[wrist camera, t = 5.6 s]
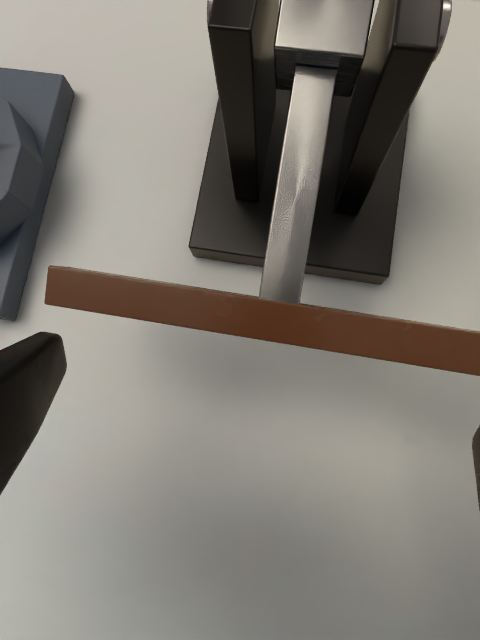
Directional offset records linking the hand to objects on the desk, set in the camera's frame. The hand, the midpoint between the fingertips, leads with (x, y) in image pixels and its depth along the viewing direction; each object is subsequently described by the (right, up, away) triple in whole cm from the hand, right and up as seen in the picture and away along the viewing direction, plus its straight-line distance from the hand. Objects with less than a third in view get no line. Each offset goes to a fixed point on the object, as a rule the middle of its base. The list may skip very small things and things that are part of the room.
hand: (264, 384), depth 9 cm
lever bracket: (+2, +8, +10) cm, 13 cm away
